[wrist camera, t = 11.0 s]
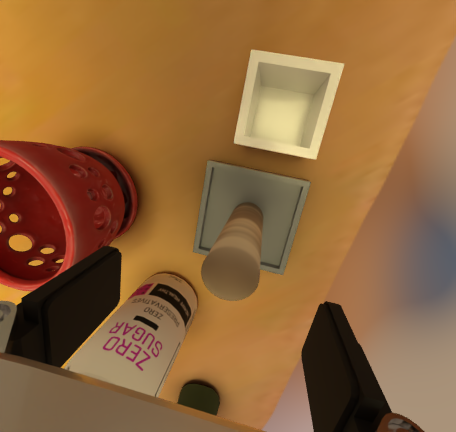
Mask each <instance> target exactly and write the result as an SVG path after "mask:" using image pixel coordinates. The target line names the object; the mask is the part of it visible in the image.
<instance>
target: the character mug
mask: <svg viewBox="0 0 456 432" xmlns="http://www.w3.org/2000/svg"><path fill="white" fill-rule="evenodd" d="M177 404H180V405H183V406H186V407H190V408H193V409H196V410H199V411H202V412H206V413H209V414H212V415H215V416H216V415H217V411H218V408H219V404H220V401H219V396H218V395H217V394H216V392H215V391H214V390H213V389H211V388H208V387H206V386H203V385H199V384H187V385H186V386H184V387H182V390H181V392H180V395H179V399H178V403H177Z"/></svg>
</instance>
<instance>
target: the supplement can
mask: <svg viewBox="0 0 456 432" xmlns="http://www.w3.org/2000/svg"><path fill="white" fill-rule="evenodd" d="M197 307H198V306H197V297H196V295H195V293H194V291H193V289H192V288H191V287H190V286H189V285H188V284H187V283H186V281H185V280H183V279H181V278H179V277H177V276H175V275H171V274H166V273H162V274H155V275H153V276H152V277H150V278H148V279H147V280H146V281H145V282H144V283H143V284H142V285H141V286H140V287H139V288H138V289H137V290H136V291H135V292H134V293H133V294H132V295H131V296H130V297H129V299H128V300H127V301H126V302H125V303H124V304H123V305H122V306H121V307H120V308H119V309H118V310H117V311H116V312H115V313H114V314H113V315H112V316H111V317H110V318H109V319H108V321H107V322H106V323H105V324H104V325H103V326H102V327H101V328H100V329H99V330H98V331H97V332H96V333H95V334H94V335H93V336H92V337H91V338H90V339H89V340H88V341H87V343H86V344H85V345H84V346H83V347H82V348H81V349H80V350H79V351H78V352H77V353H76V354H75V355H74V356H73V357H72V358H71V359H70V361H69V362H68V364H67V365H66V367H65V368H64V369H66V370H69V371H72V372H76V373H79V374H82V375H86V376H89V377H92V378H95V379H99V380H102V381H105V382H109V383H112V384H115V385H118V386H122V387H125V388H128V389H132V390H135V391H138V392H141V393H144V394H148V395H151V396H154V397H157V398H158V396H159V394H160V392H161V390H162V387H163V385H164V383H165V381H166V378H167V376H168V374H169V372H170V370H171V367H172V365H173V363H174V361H175V358H176V356H177V354H178V352H179V349H180V347H181V345H182V343H183V341H184V338H185V336H186V334H187V332H188V329H189V327H190V325H191V323H192V321H193V318H194V316H195V313H196V310H197Z"/></svg>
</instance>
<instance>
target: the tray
mask: <svg viewBox="0 0 456 432" xmlns="http://www.w3.org/2000/svg"><path fill="white" fill-rule="evenodd" d="M310 183H311V182H310V181H308V180H304V179H299V178H294V177H290V176H285V175H280V174H275V173H271V172H266V171H261V170H256V169H252V168H247V167H242V166H237V165H233V164H228V163H223V162H218V161H214V160H208V162H207V168H206V174H205V180H204V186H203V192H202V199H201V205H200V211H199V217H198V223H197V230H196V236H195V242H194V248H193V252H195V253H199V254H203V255H206V256H207V255H208V254H209V252H210V250H211V248H212V247H213V245H214V243H215V241H216V240H217V238H218V236H219V235H220V233H221V231H222V229H223V228H224V226H225V224H226V223H227V221H228V219H229V217H230V216H231V214H232V212H233V210H234V209H235V208H236V207H237V206H238V205H239V204H241V203H245V202H249V203H253V204H255V205H257V206H258V207H259V208H260V209H261V211H262V213H263V229H262V245H261V260H260V269H261V270H265V271H269V272H273V273H277V274H281V275H283V274H284V270H285V267H286V264H287V260H288V257H289V254H290V250H291V247H292V244H293V240H294V237H295V234H296V230H297V227H298V224H299V220H300V217H301V214H302V210H303V207H304V204H305V200H306V197H307V193H308V190H309V187H310Z"/></svg>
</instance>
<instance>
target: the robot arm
mask: <svg viewBox="0 0 456 432" xmlns="http://www.w3.org/2000/svg"><path fill="white" fill-rule="evenodd" d="M121 257H122V255H121V253H120V252H119V250H118V249H117V248H114V247H110V246H103V247H102V248H100V249H98V250H97V251H95V252H94V253H92V254H90V255H89V256H87V257H86V258H84V259H83V260H81V261H79V262H78V263H76V264H75V265H73V266H72V267H70V268H68V269H67V270H65V271H64V272H62V273H61V274H59V275H57V276H56V277H54V278H53V279H51V280H50V281H48V282H46V283H45V284H43V285H42V286H40V287H38V288H37V289H35V290H34V291H32V292H31V293H29V294H27V295H26V296H24V297H23V298H21V299H22V302H21V303H20V304H18V305H17V306H16V305H15V304H14V303H12V302H9V301H0V432H265V431H262V430H259V429H256V428H253V427H250V426H247V425H243V424H240V423H237V422H234V421H231V420H228V419H225V418H221V417H218V416H215V415H212V414H209V413H206V412H202V411H199V410H196V409H193V408H190V407H186V406H183V405H180V404H177V403H173V402H170V401H167V400H164V399H161V398H157V397H154V396H151V395H148V394H144V393H141V392H138V391H135V390H132V389H128V388H125V387H122V386H118V385H115V384H112V383H109V382H105V381H102V380H99V379H95V378H92V377H89V376H86V375H82V374H79V373H76V372H72V371H69V370H66V369H62V368H60V367H61V366H62V365H63V364H64V363H65V362H66V361H67V360H68V359H69V358H70V357H71V356H72V354H73V353H74V352H75V351H76V350H77V349H78V348H79V347H80V346H81V345H82V343H83V342H84V341H85V340H86V339H87V338H88V337H89V336H90V335H91V334H92V333H93V331H94V330H95V329H96V328H97V327H98V326H99V325H100V324H101V323H102V322H103V321H104V319H105V318H106V317H107V316H108V315H109V314H110V313H111V312H112V311H113V310H114V309H115V307H116V306H117V305H118V303H119V300H120V282H121ZM302 363H303V369H304V375H305V381H306V387H307V393H308V399H309V404H310V411H311V417H312V422H313V429H314V432H424V431H423V430H422V429H421V428H420V427H419V426H418V425H417V424H415V423H414V422H412V421H411V420H410V419H408V418H407V417H404V416H402V415H400V414H397V413H392V411H391V409H390V407H389V405H388V403H387V401H386V399H385V396H384V394H383V392H382V390H381V388H380V386H379V384H378V381H377V380H376V377H375V375H374V373H373V371H372V369H371V367H370V364H369V362H368V360H367V358H366V356H365V354H364V352H363V349H362V347H361V346H360V344H359V343H358V342H357V340H356V338H355V335H354V333H353V331H352V329H351V327H350V325H349V323H348V320H347V318H346V316H345V314H344V312H343V310H342V307H341V306H340V305H339V304H335V303H331V302H327V301H326V302H325V303H324V304H320V305H319V307H318V310H317V312H316V315H315V317H314V320H313V323H312V325H311V328H310V330H309V333H308V336H307V338H306V341H305V343H304V346H303V349H302Z"/></svg>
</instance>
